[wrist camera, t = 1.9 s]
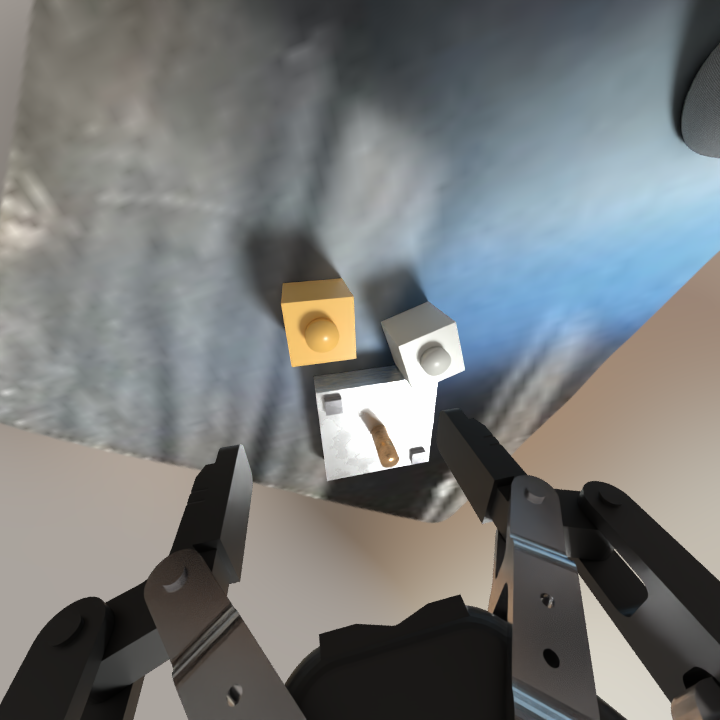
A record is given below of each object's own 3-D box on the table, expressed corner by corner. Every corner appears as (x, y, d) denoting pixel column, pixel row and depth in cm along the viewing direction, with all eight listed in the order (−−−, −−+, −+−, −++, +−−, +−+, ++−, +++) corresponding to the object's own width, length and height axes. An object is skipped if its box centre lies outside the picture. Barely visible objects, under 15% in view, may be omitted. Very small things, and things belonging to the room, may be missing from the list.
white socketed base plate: (313, 376, 29) (319, 422, 23) (425, 360, 31) (457, 399, 25) (324, 460, 35) (331, 513, 29) (418, 442, 37) (443, 489, 31)
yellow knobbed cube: (282, 283, 24) (280, 307, 19) (341, 278, 25) (355, 300, 20) (291, 337, 27) (291, 372, 22) (345, 331, 28) (358, 363, 22)
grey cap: (380, 321, 28) (401, 351, 23) (428, 301, 28) (460, 325, 23) (394, 362, 31) (416, 397, 25) (438, 343, 31) (469, 374, 25)
